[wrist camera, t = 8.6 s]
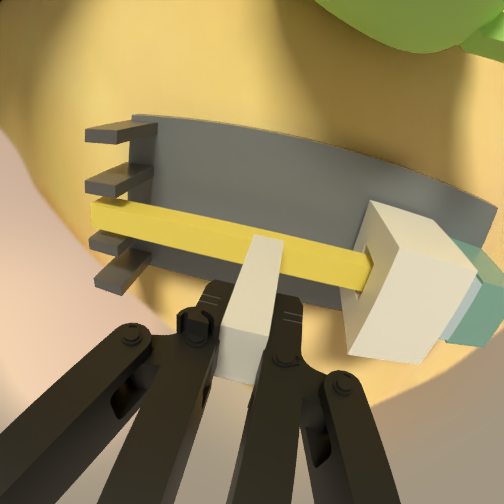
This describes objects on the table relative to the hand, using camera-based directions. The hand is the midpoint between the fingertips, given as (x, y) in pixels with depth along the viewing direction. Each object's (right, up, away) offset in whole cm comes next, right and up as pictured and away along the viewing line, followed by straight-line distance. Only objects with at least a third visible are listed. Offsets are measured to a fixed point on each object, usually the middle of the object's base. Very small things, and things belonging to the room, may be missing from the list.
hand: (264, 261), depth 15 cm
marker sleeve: (+9, 0, +4) cm, 10 cm away
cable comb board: (+4, +2, +6) cm, 7 cm away
